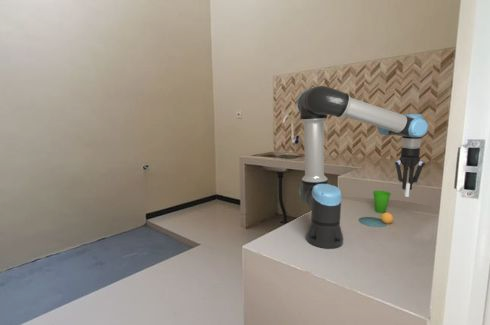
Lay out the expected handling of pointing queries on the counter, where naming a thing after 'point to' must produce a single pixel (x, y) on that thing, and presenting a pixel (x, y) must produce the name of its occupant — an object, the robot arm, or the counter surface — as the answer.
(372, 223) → the teal ellipsoid
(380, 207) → the green tapered cylinder
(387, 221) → the ball
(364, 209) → the counter surface
